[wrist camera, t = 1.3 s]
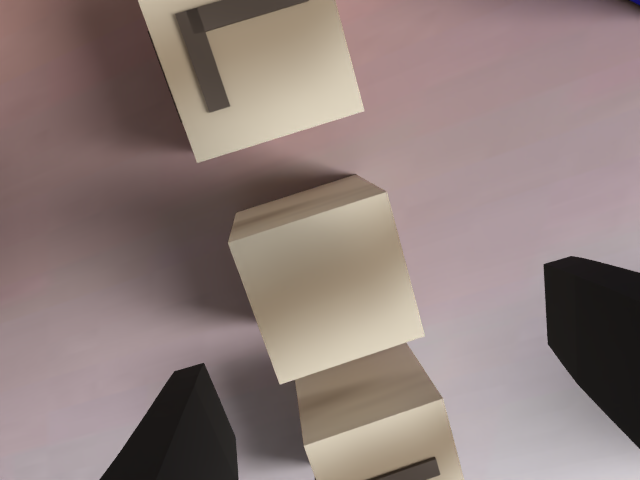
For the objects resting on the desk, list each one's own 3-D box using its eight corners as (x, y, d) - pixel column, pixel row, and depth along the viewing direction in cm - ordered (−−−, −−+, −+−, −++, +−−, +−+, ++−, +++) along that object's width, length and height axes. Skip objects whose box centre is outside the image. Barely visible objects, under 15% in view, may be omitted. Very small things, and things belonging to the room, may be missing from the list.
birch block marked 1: (427, 428, 23) (473, 514, 18) (323, 464, 22) (340, 561, 17) (401, 335, 21) (444, 400, 16) (290, 372, 21) (299, 449, 16)
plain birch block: (386, 285, 21) (425, 336, 16) (275, 322, 20) (279, 384, 16) (355, 174, 19) (387, 191, 15) (236, 212, 19) (227, 243, 14)
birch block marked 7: (337, 113, 19) (365, 111, 14) (210, 153, 18) (191, 164, 14) (299, -24, 17) (314, -82, 12) (161, 17, 17) (121, -26, 12)
